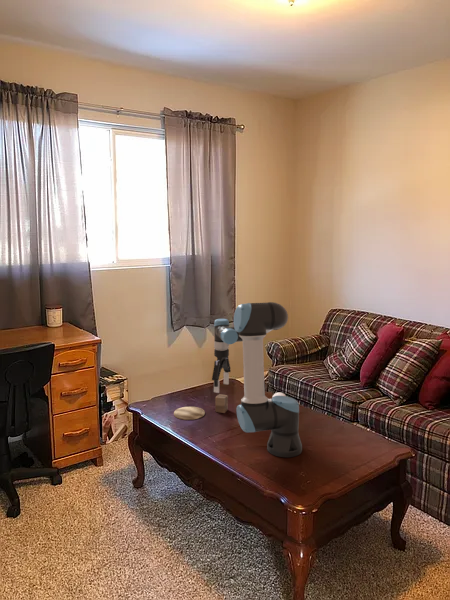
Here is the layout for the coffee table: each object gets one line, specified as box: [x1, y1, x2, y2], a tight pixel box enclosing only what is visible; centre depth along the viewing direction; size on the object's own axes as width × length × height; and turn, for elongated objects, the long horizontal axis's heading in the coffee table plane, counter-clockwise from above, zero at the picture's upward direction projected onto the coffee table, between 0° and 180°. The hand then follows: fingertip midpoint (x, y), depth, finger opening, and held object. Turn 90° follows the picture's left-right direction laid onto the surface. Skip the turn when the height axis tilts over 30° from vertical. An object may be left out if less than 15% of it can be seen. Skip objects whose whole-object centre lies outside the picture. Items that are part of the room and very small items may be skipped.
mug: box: [268, 392, 287, 402], centre depth 259 cm, size 12×10×8 cm
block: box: [214, 393, 229, 414], centre depth 258 cm, size 5×5×8 cm
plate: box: [173, 406, 206, 421], centre depth 254 cm, size 16×16×1 cm
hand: (221, 388), depth 257 cm, fingers open, 13 cm apart
